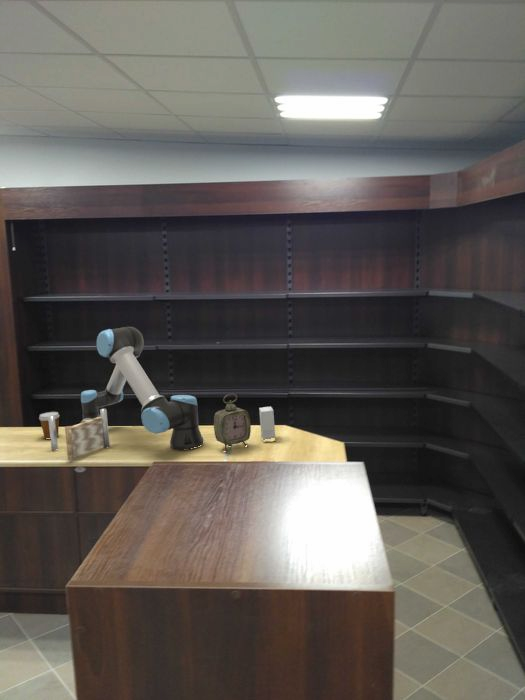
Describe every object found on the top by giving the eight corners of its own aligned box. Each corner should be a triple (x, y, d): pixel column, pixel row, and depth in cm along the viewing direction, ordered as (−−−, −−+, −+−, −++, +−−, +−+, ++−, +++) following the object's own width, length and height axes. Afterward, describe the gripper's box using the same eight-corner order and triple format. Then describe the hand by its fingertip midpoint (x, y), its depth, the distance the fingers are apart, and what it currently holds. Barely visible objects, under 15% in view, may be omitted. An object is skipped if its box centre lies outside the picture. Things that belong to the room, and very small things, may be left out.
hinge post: (110, 445, 253) (106, 408, 250) (109, 447, 250) (105, 409, 247) (104, 446, 253) (100, 408, 250) (102, 448, 250) (99, 410, 247)
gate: (101, 444, 250) (98, 415, 248) (105, 445, 249) (102, 415, 247) (66, 459, 233) (63, 427, 231) (70, 459, 232) (67, 428, 230)
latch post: (59, 448, 252) (55, 415, 249) (57, 450, 249) (53, 417, 247) (52, 449, 252) (49, 415, 249) (50, 451, 249) (47, 417, 247)
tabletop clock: (223, 455, 234) (220, 398, 230) (213, 449, 241) (209, 394, 237) (251, 447, 242) (249, 392, 238) (241, 442, 249) (238, 389, 245)
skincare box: (275, 442, 248) (274, 410, 245) (262, 443, 247) (261, 411, 245) (273, 436, 256) (271, 405, 254) (260, 437, 255) (258, 406, 253)
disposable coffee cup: (48, 442, 263) (45, 417, 261) (37, 438, 269) (34, 415, 267) (65, 436, 270) (63, 413, 268) (54, 433, 276) (52, 410, 274)
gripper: (100, 435, 259) (87, 451, 236) (73, 436, 259) (56, 453, 236) (99, 419, 258) (85, 435, 235) (71, 421, 258) (55, 436, 234)
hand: (71, 444), depth 235 cm, fingers closed
